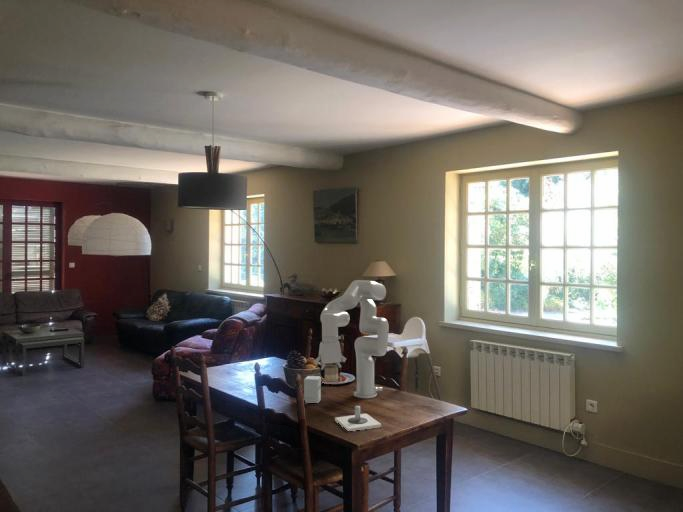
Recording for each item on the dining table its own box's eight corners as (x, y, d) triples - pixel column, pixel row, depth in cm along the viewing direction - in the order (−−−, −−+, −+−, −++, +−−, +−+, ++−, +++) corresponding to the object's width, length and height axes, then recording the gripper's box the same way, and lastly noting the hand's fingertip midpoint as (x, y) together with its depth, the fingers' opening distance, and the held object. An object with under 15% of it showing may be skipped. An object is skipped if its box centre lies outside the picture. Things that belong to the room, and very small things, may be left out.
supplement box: (317, 404, 278) (317, 379, 277) (303, 403, 279) (303, 379, 279) (321, 400, 285) (321, 376, 285) (307, 399, 287) (307, 375, 286)
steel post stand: (366, 416, 258) (366, 399, 258) (381, 427, 244) (381, 409, 243) (334, 420, 252) (334, 403, 252) (348, 432, 238) (348, 414, 237)
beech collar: (334, 376, 262) (334, 364, 262) (340, 380, 256) (339, 367, 255) (320, 378, 260) (320, 365, 259) (326, 381, 253) (325, 368, 253)
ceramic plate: (315, 375, 338) (315, 370, 338) (356, 376, 335) (356, 371, 335) (308, 386, 313) (308, 381, 312) (352, 387, 310) (352, 382, 310)
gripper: (344, 336, 264) (344, 372, 264) (310, 339, 257) (310, 376, 258) (350, 339, 257) (350, 376, 257) (315, 342, 250) (315, 380, 251)
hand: (330, 376), depth 258 cm, fingers closed on beech collar, 7 cm apart
